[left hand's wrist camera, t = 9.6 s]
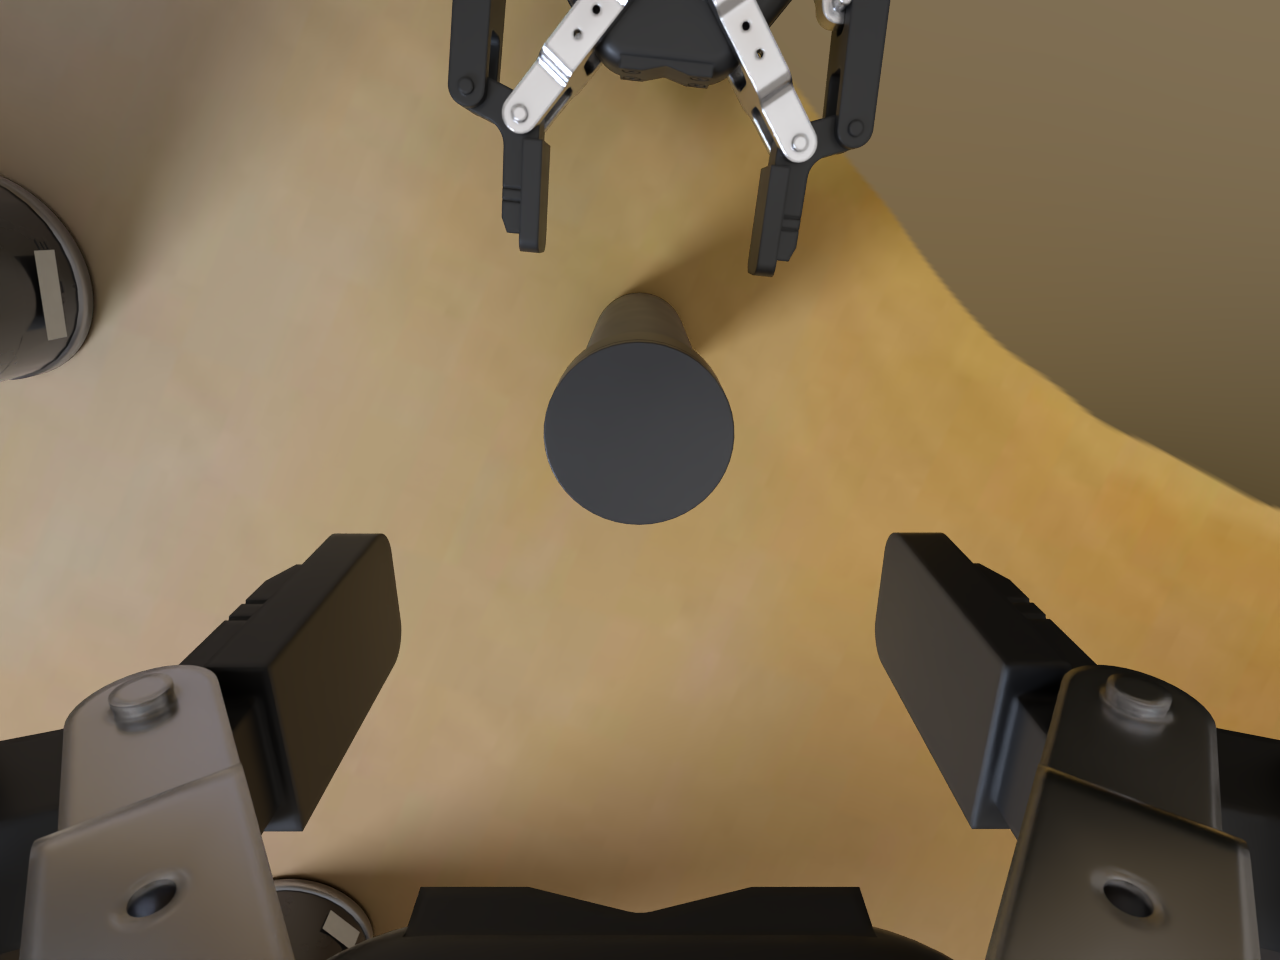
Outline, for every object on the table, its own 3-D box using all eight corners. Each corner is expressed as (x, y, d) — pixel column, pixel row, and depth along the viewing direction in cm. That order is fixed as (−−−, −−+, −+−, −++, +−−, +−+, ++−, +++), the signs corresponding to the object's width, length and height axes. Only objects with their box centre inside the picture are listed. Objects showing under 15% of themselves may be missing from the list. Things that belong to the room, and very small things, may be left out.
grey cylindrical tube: (647, 400, 35) (652, 535, 20) (576, 347, 34) (527, 447, 19) (702, 330, 34) (752, 418, 19) (630, 273, 33) (623, 318, 18)
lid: (654, 532, 22) (655, 558, 20) (517, 435, 21) (506, 454, 19) (762, 404, 20) (774, 420, 19) (621, 293, 19) (620, 300, 18)
